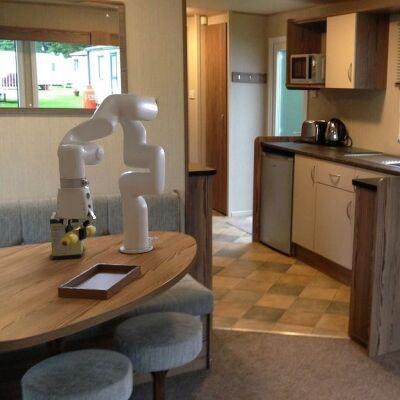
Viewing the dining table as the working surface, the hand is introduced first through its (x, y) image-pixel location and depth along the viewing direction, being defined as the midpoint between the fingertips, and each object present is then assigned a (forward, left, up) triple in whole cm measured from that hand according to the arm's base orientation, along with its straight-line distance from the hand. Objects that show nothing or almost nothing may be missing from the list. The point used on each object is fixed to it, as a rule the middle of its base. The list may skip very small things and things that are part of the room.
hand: (76, 238), depth 181 cm
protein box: (-17, -34, -15) cm, 41 cm away
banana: (0, 0, -1) cm, 1 cm away
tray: (-4, +7, -15) cm, 17 cm away
